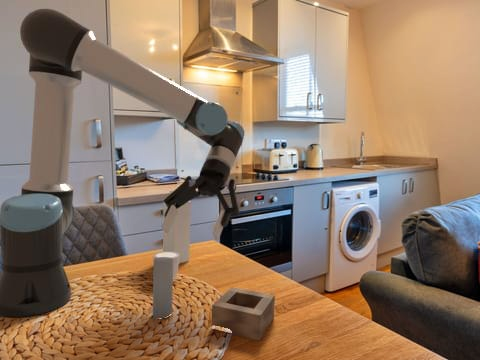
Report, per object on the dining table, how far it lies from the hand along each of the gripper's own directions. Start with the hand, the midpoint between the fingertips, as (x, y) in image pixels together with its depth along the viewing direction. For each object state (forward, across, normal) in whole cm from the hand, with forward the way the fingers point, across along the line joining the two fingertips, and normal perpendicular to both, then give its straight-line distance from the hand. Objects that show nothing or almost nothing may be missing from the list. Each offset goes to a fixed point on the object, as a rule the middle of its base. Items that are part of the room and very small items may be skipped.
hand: (189, 233), depth 85 cm
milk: (-4, +16, -26) cm, 31 cm away
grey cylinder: (+18, 0, -3) cm, 19 cm away
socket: (+16, -17, -6) cm, 24 cm away
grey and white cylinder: (+7, +10, -15) cm, 20 cm away
